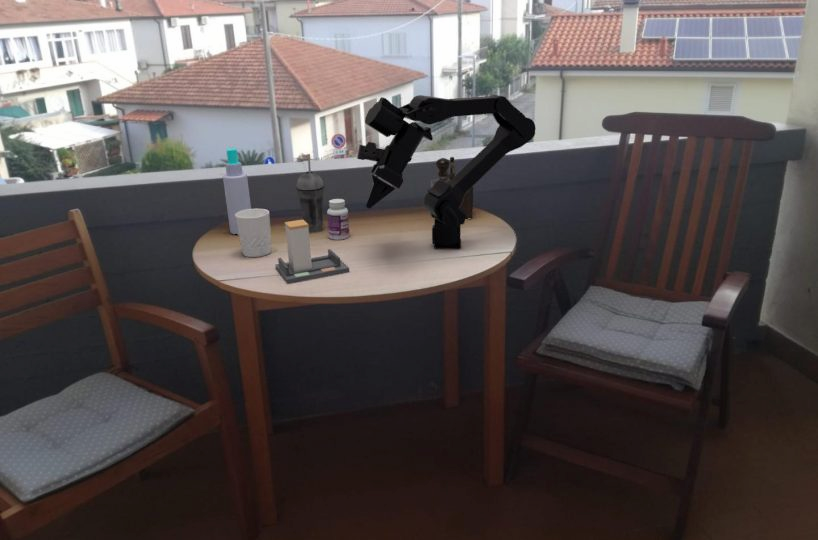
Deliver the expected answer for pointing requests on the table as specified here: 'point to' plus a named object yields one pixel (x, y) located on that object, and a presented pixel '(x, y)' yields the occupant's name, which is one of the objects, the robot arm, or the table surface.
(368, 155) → the robot arm
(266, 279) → the table surface
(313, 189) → the beverage cup
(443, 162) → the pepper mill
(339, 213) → the pill bottle
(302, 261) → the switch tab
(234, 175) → the spray bottle
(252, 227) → the white cup
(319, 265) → the switch board
